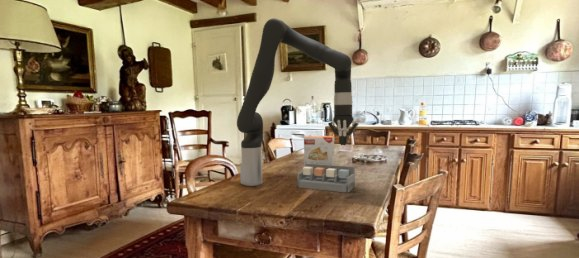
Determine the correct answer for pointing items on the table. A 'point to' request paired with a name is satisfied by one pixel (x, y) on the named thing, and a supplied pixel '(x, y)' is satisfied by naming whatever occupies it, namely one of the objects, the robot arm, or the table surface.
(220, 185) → the table surface
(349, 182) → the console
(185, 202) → the table surface
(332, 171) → the ivory key
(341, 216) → the table surface
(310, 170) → the ivory key
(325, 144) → the cracker box
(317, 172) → the key terracotta
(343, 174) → the key blue
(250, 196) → the table surface
